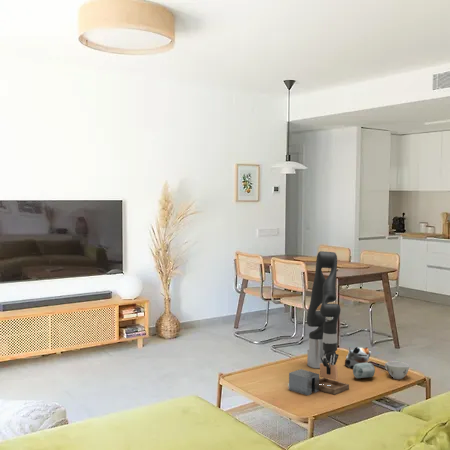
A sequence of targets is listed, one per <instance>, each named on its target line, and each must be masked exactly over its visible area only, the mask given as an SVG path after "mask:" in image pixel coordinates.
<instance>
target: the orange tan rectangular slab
mask: <svg viewBox="0 0 450 450" xmlns="http://www.w3.org/2000/svg"><path fill="white" fill-rule="evenodd" d="M328 365H329V363H328ZM330 368H331V374H330V375H329V374H327V367H325V366H324V365H323V363H321V364H320V368H319V378H327V379H331V380H334V381H337V380H339V379H338V365H336V364H335V365H331V367H330Z"/></svg>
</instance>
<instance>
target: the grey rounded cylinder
mask: <svg viewBox="0 0 450 450" xmlns="http://www.w3.org/2000/svg"><path fill="white" fill-rule="evenodd" d="M375 372H376V369H375V365H373V363H371V362H368V363H358V364H355V365H354V367H353V368H352V373H353V376H354V377H355V378H356V379H361V378H362V379H363V378H366V379H367V378H373V377H374V376H375Z"/></svg>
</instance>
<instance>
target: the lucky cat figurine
mask: <svg viewBox="0 0 450 450" xmlns="http://www.w3.org/2000/svg"><path fill="white" fill-rule="evenodd" d="M348 353H349V352H348ZM371 354H372V350H370V349H369V347H362V346H356V347H354V348H353V349H351V350H350V353H349V355H348V354H347V355H348V358H346V357H345V360H344V365H345V366H346V367H348V368H349V369H353V367H354V365H355V364H358V363H369V362H368V361H369V359H370V356H371Z"/></svg>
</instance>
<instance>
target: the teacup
mask: <svg viewBox="0 0 450 450" xmlns="http://www.w3.org/2000/svg"><path fill="white" fill-rule="evenodd" d="M384 368H385V370H386V371H387V372H388V374H389V376H391V378H392V377H393V379H395V380H402V379H403V378H404V377H406V376H407V374H408V372H409V370H410V364H409V363H407V362H403V361H387V362H385V363H384Z"/></svg>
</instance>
